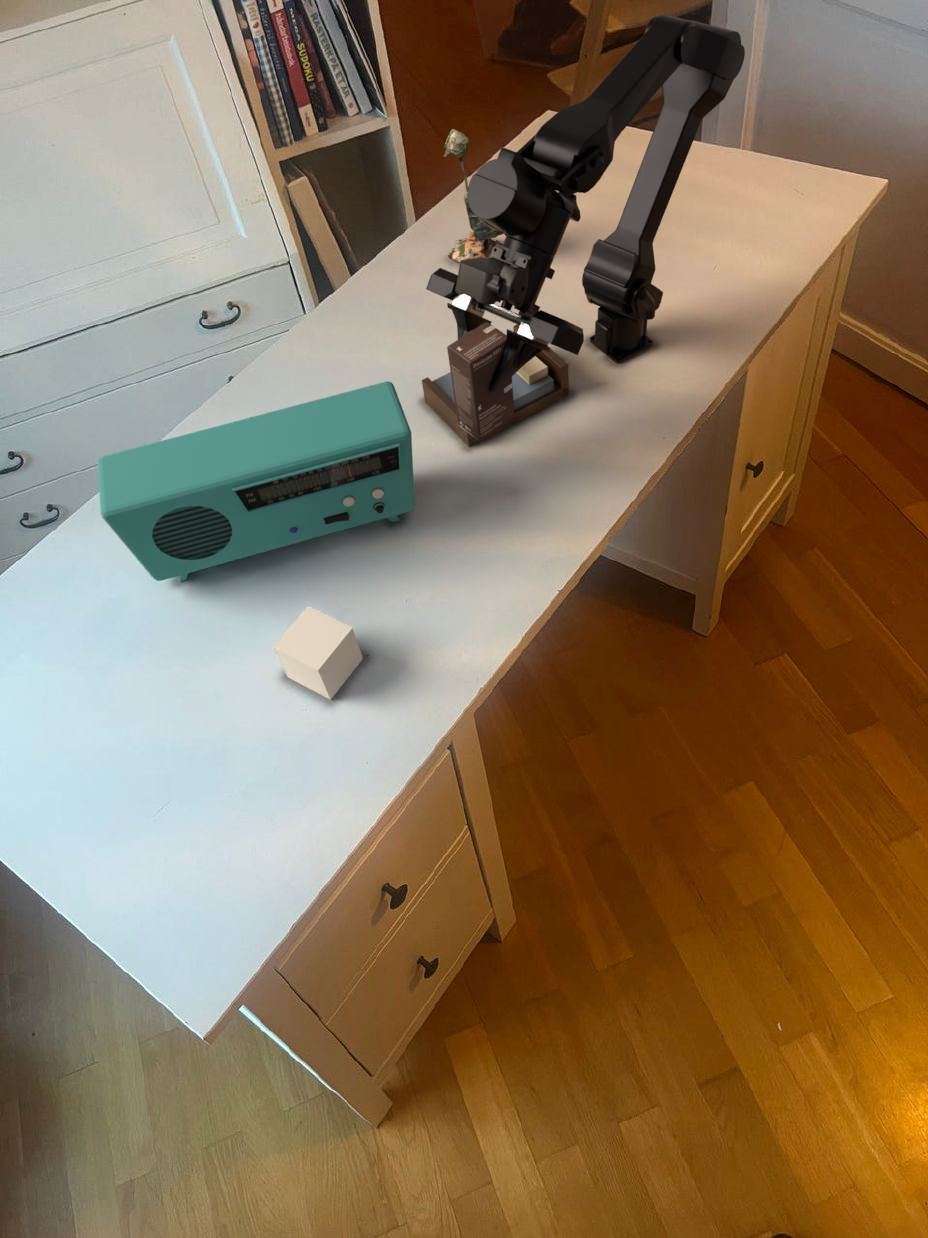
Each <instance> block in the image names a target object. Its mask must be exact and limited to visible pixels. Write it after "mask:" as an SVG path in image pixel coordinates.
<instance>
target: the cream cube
mask: <svg viewBox="0 0 928 1238" xmlns="http://www.w3.org/2000/svg"><path fill="white" fill-rule="evenodd" d="M272 649H273V650H274V652H275V655H276V656H277V658H278V660H279V662H280V665H281V667H282V669H283V670H284V673H285V674H286V677H287V678H289V679H291V680H292V681H294V682H296V683H298V684H300V685H301V686H304V687H305V688H307V689H309V690H311V691H313V692H315V693H317V694H319V695H320V696H322V697H325V698H326V699H328V700H330V701H332V699H333V698H334V697H335V695H336V694H337V693H338V691H339V690H340V689H341V688H342V686H343V685H344V684H345V682H346V681H347V680H348V678H349V677H350V676H351V675H352V673H353V672H354V671H355V670H356V668H357V667H358V666H359V665H360V663H361V662H362V661H363V659H364V657H363V654H362V651H361V649H360V646H359V642H358V639H357V637H356V634H355V631H354V628H353V627H352V626H350V625H348V624H346V623H344V622H341V621H340V620H338V619H336V618H333V617H331V616H329V615H327V614H325V613H323V612H321V611H319V610H317V609H315V608H314V607H311V606H309V605H307V606H306V607H305V609H304V610H303V611H302V612H301V613H300V614H299V616H297V618H296V619H295V621H294V622H293V623H291V625H290V626H289V627H288V629H287V630H286V631H285V632H284V633H283V635H282V636H281V637H280V638H279V639H278V640H277V641H276V643H275V644H274V645H273V646H272Z"/></svg>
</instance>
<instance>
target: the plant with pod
mask: <svg viewBox="0 0 928 1238" xmlns="http://www.w3.org/2000/svg"><path fill="white" fill-rule="evenodd" d="M469 145H470V138H469V137H468V136H466V135H465V133H463V132H462V131H460V130H457V129H456V128H452V129H451V130H450V132H449V134H448V136H447V138H446V141H445V143H444V149H445V151H444V154H443V155H442V157H444V158H447V157H448V155H452V156H454V157H455V158H458V159H459V164H460V167H461V171H462V173H463V178H464V185H465V190H466V191H465V193H464V197H463V200H464V205H465V208H466V213H467V217H468V221H469V223H468V224H469V227H470V229H471V230H472V231H469V233H468V234H467V237H466V238H464V239H458V240H456V239H455V241H457V242H456V243H455V245H454V247H452V250H450V252H449V254H448V255H447V257H448V259H450V260H452V261H455V262H456V263H460V261H461V260H466V259H472V258H480V257H482V258H488V257H489V256H490V254H491V251H492V249H493V247H495V245H496V243H497V244H500V245H503V243H504V241H500V240H498V239H496V238H498V236H502V235H504V236H505V237H506V236H507V234H506V233H504V232H502V231H501V230H499V229H497V228H496V227H494V226H492V225H491V224H489V223H487V222H486V221H484V220H482V219H481V218H479V217H477V216H476V215H475V214H474V213H473V212H472V210H471V209H470V206H469V203H468V197H467V194H468V187H469V183H468V182H469V181H468V178H467V174H466V170H465V160H464V158H465V157H466V156H467V154H468V151H469V150H468V149H469Z"/></svg>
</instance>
